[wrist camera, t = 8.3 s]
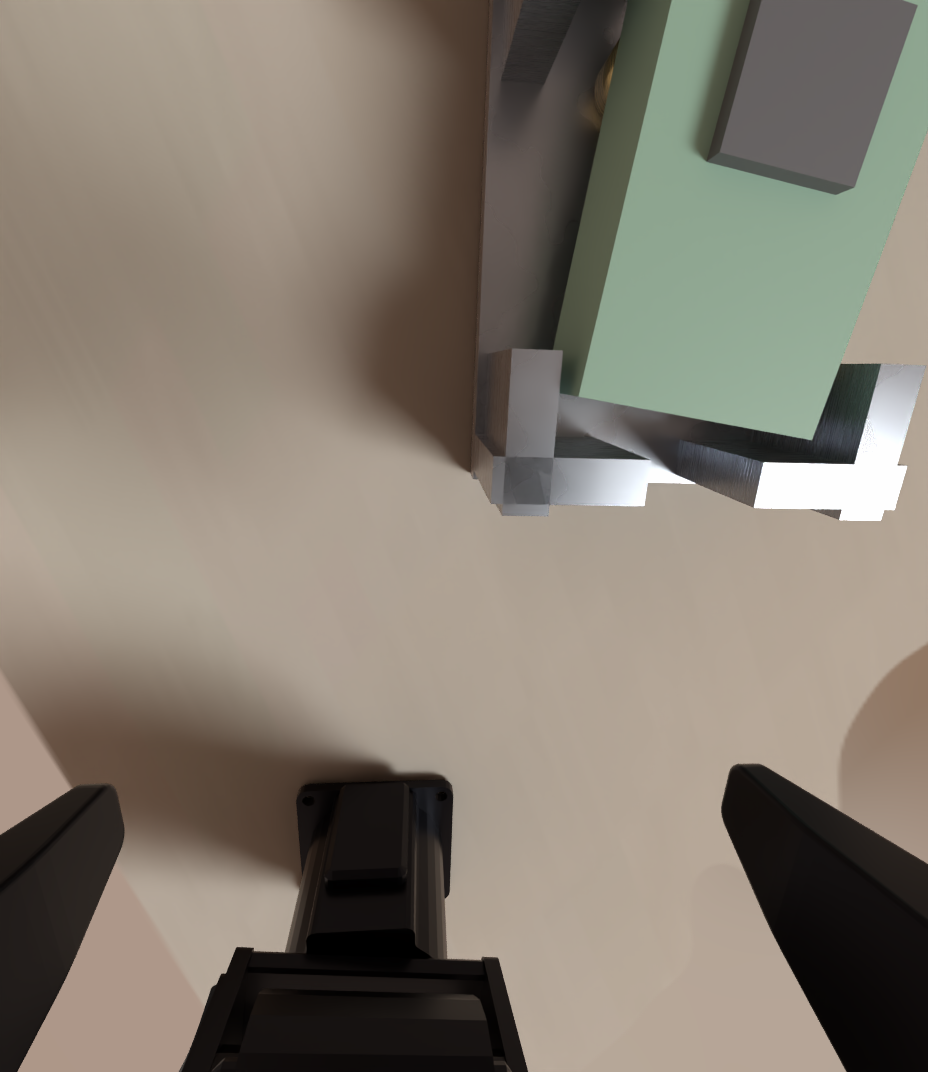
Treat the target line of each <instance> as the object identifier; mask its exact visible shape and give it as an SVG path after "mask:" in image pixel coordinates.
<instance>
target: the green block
mask: <svg viewBox="0 0 928 1072" xmlns="http://www.w3.org/2000/svg"><path fill="white" fill-rule="evenodd" d="M927 130H928V0H628V3H627V8H626V13H625V17H624V22H623V26H622V31H621V36H620V40H619V45H618V50H617V54H616V59H615V64H614V68H613V73H612V78H611V82H610V87H609V91H608V96H607V101H606V105H605V110H604V115H603V119H602V124H601V129H600V133H599V138H598V142H597V147H596V152H595V156H594V161H593V166H592V170H591V175H590V180H589V184H588V189H587V194H586V198H585V203H584V207H583V212H582V217H581V221H580V226H579V231H578V235H577V240H576V245H575V249H574V254H573V258H572V263H571V268H570V272H569V277H568V282H567V286H566V291H565V296H564V300H563V305H562V309H561V314H560V319H559V323H558V328H557V333H556V337H555V342H554V347H553V350H562V351H563V357H562V368H561V379H560V391H559V393H561V394H566V395H572V396H577V397H582V398H588V399H593V400H598V401H604V402H609V403H614V404H620V405H625V406H631V407H636V408H641V409H647V410H652V411H657V412H663V413H668V414H673V415H679V416H684V417H690V418H695V419H700V420H706V421H711V422H716V423H722V424H727V425H732V426H738V427H743V428H749V429H754V430H759V431H765V432H770V433H776V434H781V435H786V436H792V437H797V438H803V439H808V440H812V439H813V436H814V433H815V430H816V428H817V425H818V422H819V420H820V417H821V414H822V412H823V409H824V406H825V404H826V401H827V398H828V396H829V393H830V390H831V388H832V385H833V382H834V380H835V377H836V374H837V372H838V369H839V366H840V363H841V361H842V358H843V355H844V353H845V350H846V347H847V345H848V342H849V339H850V337H851V334H852V331H853V329H854V326H855V323H856V321H857V318H858V315H859V313H860V310H861V307H862V305H863V302H864V299H865V296H866V294H867V291H868V288H869V286H870V283H871V280H872V278H873V275H874V272H875V270H876V267H877V264H878V262H879V259H880V256H881V254H882V251H883V248H884V246H885V243H886V240H887V238H888V235H889V232H890V229H891V227H892V224H893V221H894V219H895V216H896V213H897V211H898V208H899V205H900V203H901V200H902V197H903V195H904V192H905V189H906V187H907V184H908V181H909V179H910V176H911V173H912V171H913V168H914V165H915V162H916V160H917V157H918V154H919V152H920V149H921V146H922V144H923V141H924V138H925V136H926V133H927Z"/></svg>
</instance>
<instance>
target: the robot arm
mask: <svg viewBox="0 0 928 1072" xmlns="http://www.w3.org/2000/svg"><path fill="white" fill-rule="evenodd" d="M438 792H445V793H443V794H438ZM306 796H311V797H313V798H307V797H306ZM296 804H297V816H298V829H299V841H300V854H301V866H302V881H301V885H300V889H299V894H298V898H297V902H296V907H295V911H294V915H293V919H292V924H291V928H290V932H289V937H288V941H287V945H286V950H285V952H260V951H254V948H247V947H237V948H236V950H235V952H234V955H233V957H232V960H231V962H230V965H229V967H228V970H227V972H226V974H221V976H220V978H219V980H218V983H217V984H216V985H215V986H213V987H212V988H211V991H210V994H209V997H208V1000H207V1003H206V1006H205V1009H204V1012H203V1015H202V1018H201V1021H200V1024H199V1027H198V1029H197V1032H196V1035H195V1038H194V1040H193V1043H192V1046H191V1048H190V1050H189V1053H188V1055H187V1057H186V1059H185V1061H184V1063H183V1065H182V1067H181V1069H180V1070H179V1072H528V1070H527V1066H526V1062H525V1058H524V1055H523V1051H522V1047H521V1043H520V1039H519V1035H518V1032H517V1028H516V1024H515V1020H514V1016H513V1013H512V1009H511V1005H510V1001H509V997H508V993H507V990H506V986H505V982H504V978H503V974H502V970H501V967H500V963H499V959H498V958H496V957H482V959H481V960H464V959H447V941H446V919H445V898H446V897H447V896H448V895H449V892H450V867H451V840H452V812H453V789H452V785H451V784H450V782H448V781H446V780H419V781H387V782H356V783H324V784H307V785H304V786H302V787H301V788H300V790H299V792H298V796H297V800H296ZM721 813H722V818H723V822H724V825H725V827H726V829H727V832H728V834H729V836H730V839H731V841H732V843H733V845H734V848H735V850H736V852H737V855H738V857H739V859H740V861H741V864H742V866H743V868H744V871H745V873H746V875H747V878H748V880H749V882H750V884H751V886H752V889H753V891H754V894H755V896H756V898H757V900H758V902H759V905H760V907H761V909H762V912H763V914H764V916H765V919H766V921H767V923H768V925H769V927H770V929H771V931H772V933H773V935H774V937H775V939H776V941H777V943H778V945H779V947H780V949H781V951H782V953H783V955H784V957H785V958H786V960H787V962H788V964H789V966H790V968H791V969H792V971H793V973H794V975H795V977H796V979H797V981H798V982H799V984H800V986H801V988H802V990H803V992H804V994H805V996H806V997H807V999H808V1001H809V1003H810V1005H811V1007H812V1009H813V1011H814V1012H815V1014H816V1016H817V1018H818V1020H819V1022H820V1024H821V1025H822V1027H823V1029H824V1031H825V1033H826V1035H827V1037H828V1038H829V1040H830V1042H831V1044H832V1046H833V1048H834V1049H835V1051H836V1053H837V1055H838V1057H839V1059H840V1061H841V1063H842V1064H843V1066H844V1068H845V1070H846V1072H928V864H927V863H925V862H924V861H922V860H920V859H919V858H917V857H915V856H914V855H912V854H910V853H909V852H907V851H905V850H904V849H902V848H900V847H899V846H897V845H895V844H894V843H892V842H890V841H889V840H887V839H885V838H884V837H882V836H880V835H879V834H877V833H875V832H874V831H872V830H870V829H868V828H867V827H865V826H864V825H862V824H860V823H859V822H857V821H855V820H854V819H852V818H850V817H849V816H847V815H845V814H844V813H842V812H840V811H839V810H837V809H835V808H834V807H832V806H830V805H829V804H827V803H825V802H824V801H822V800H820V799H819V798H817V797H815V796H814V795H812V794H810V793H809V792H807V791H805V790H804V789H802V788H800V787H799V786H797V785H795V784H794V783H792V782H790V781H789V780H787V779H785V778H784V777H782V776H780V775H779V774H777V773H775V772H774V771H772V770H770V769H769V768H767V767H765V766H763V765H761V764H736V765H734V766H733V767H732V768H731V769H730V772H729V775H728V780H727V784H726V788H725V792H724V796H723V801H722V806H721ZM123 840H124V824H123V819H122V814H121V810H120V805H119V800H118V796H117V792H116V789H115V788H114V786H113V785H111V784H107V783H105V784H83V785H79V786H77V787H75V788H73V789H71V790H70V791H68V792H67V793H65V794H64V795H62V796H60V797H59V798H57V799H56V800H54V801H53V802H51V803H49V804H48V805H46V806H45V807H43V808H42V809H40V810H39V811H37V812H35V813H34V814H32V815H31V816H29V817H28V818H26V819H24V820H23V821H21V822H20V823H18V824H17V825H15V826H14V827H12V828H10V829H9V830H7V831H6V832H4V833H3V834H1V835H0V1072H17V1071H18V1069H19V1067H20V1065H21V1063H22V1062H23V1060H24V1058H25V1056H26V1054H27V1052H28V1050H29V1048H30V1046H31V1045H32V1043H33V1041H34V1039H35V1037H36V1035H37V1033H38V1031H39V1029H40V1027H41V1025H42V1023H43V1022H44V1020H45V1018H46V1016H47V1014H48V1012H49V1010H50V1008H51V1006H52V1004H53V1002H54V1001H55V999H56V997H57V995H58V993H59V991H60V989H61V987H62V985H63V983H64V981H65V979H66V977H67V974H68V972H69V970H70V968H71V966H72V964H73V961H74V959H75V957H76V955H77V952H78V950H79V948H80V945H81V943H82V940H83V938H84V936H85V933H86V931H87V929H88V926H89V924H90V921H91V919H92V916H93V914H94V912H95V910H96V907H97V905H98V902H99V900H100V898H101V895H102V893H103V891H104V888H105V886H106V883H107V881H108V879H109V876H110V874H111V871H112V869H113V867H114V864H115V862H116V860H117V857H118V855H119V853H120V850H121V847H122V844H123Z"/></svg>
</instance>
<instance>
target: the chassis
mask: <svg viewBox="0 0 928 1072" xmlns="http://www.w3.org/2000/svg"><path fill="white" fill-rule="evenodd" d="M627 3H628V0H489V23H488V48H487V73H486V98H485V123H484V148H483V173H482V198H481V223H480V248H479V273H478V298H477V323H476V348H475V373H474V398H473V423H472V448H471V476H472V478H473V479H478V480H479V482H480V484H481V486H482V488H483V490H484V491H485V493H486V495H487V497H488V499H489V501H490V503H491V504H496V506H497V507H498V509H499V511H500V513H501V515H502V516H548V514H549V505H599V506H644V504H645V497H646V490H647V484H648V483H696V484H698V485H701V486H703V487H706V488H708V489H710V490H713V491H715V492H718V493H720V494H722V495H725V496H727V497H729V498H732V499H734V500H737V501H739V502H741V503H744V504H746V505H749V506H751V507H753V508H800V509H811V510H814V511H816V512H819V513H822V514H825V515H827V516H830V517H833V518H836V519H838V520H881V518H882V514H883V511H884V510H894V509H895V505H896V502H897V499H898V495H899V492H900V489H901V485H902V482H903V479H904V475H905V472H906V469H907V466H905V465H901V464H897V463H898V460H899V457H900V453H901V450H902V446H903V443H904V440H905V436H906V433H907V429H908V426H909V423H910V419H911V416H912V412H913V409H914V406H915V402H916V399H917V395H918V392H919V389H920V385H921V382H922V378H923V375H924V372H925V368H926V366H924V365H900V364H840V366H839V369H838V372H837V374H836V377H835V380H834V382H833V385H832V388H831V390H830V393H829V396H828V398H827V401H826V404H825V406H824V409H823V412H822V414H821V417H820V420H819V422H818V425H817V428H816V430H815V433H814V436H813V439H812V440H808V439H803V438H797V437H792V436H786V435H781V434H776V433H770V432H765V431H759V430H754V429H749V428H743V427H738V426H732V425H727V424H722V423H716V422H711V421H706V420H700V419H695V418H690V417H684V416H679V415H673V414H668V413H663V412H657V411H652V410H647V409H641V408H636V407H631V406H625V405H620V404H614V403H609V402H604V401H598V400H593V399H588V398H582V397H577V396H572V395H566V394H561V393H559V391H560V379H561V368H562V357H563V351H562V350H553V347H554V342H555V337H556V333H557V328H558V323H559V319H560V314H561V309H562V305H563V300H564V296H565V291H566V286H567V282H568V277H569V272H570V268H571V263H572V258H573V254H574V249H575V245H576V240H577V235H578V231H579V226H580V221H581V217H582V212H583V207H584V203H585V198H586V194H587V189H588V184H589V180H590V175H591V170H592V166H593V161H594V156H595V152H596V147H597V142H598V138H599V133H600V129H601V124H602V119H603V115H604V110H605V105H606V101H607V96H608V91H609V87H610V82H611V78H612V73H613V68H614V64H615V59H616V54H617V50H618V45H619V40H620V36H621V31H622V26H623V22H624V17H625V13H626V8H627Z"/></svg>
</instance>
